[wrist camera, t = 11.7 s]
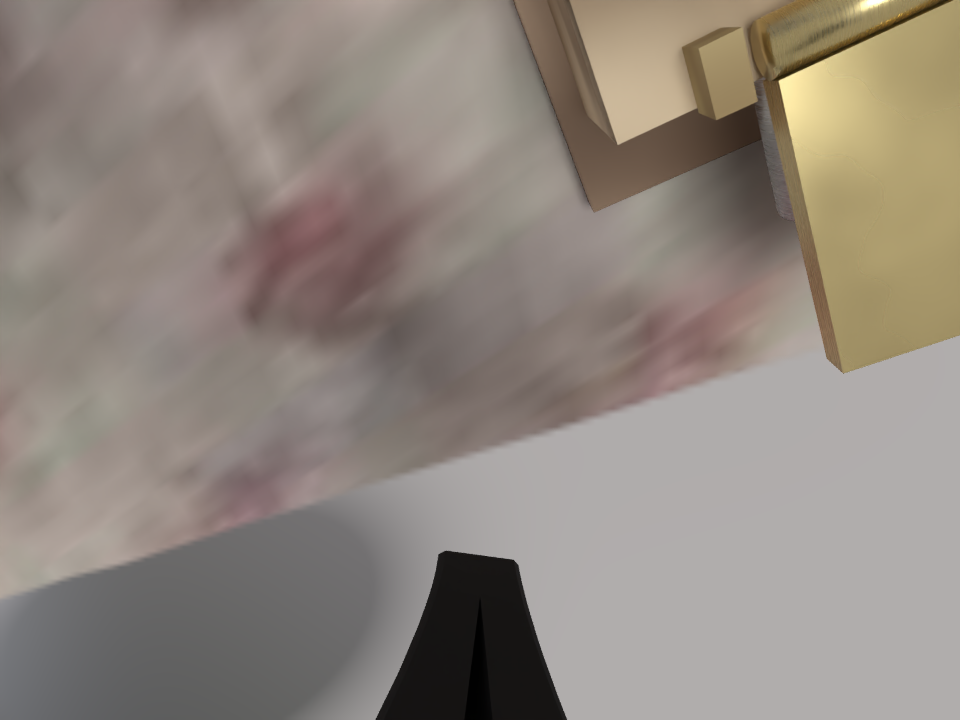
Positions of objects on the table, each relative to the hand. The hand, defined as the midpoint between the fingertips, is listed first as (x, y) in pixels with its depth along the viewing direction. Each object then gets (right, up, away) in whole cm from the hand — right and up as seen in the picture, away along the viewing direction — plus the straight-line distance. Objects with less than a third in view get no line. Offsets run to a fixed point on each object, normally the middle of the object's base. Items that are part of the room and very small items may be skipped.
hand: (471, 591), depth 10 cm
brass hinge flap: (+8, +8, 0) cm, 12 cm away
